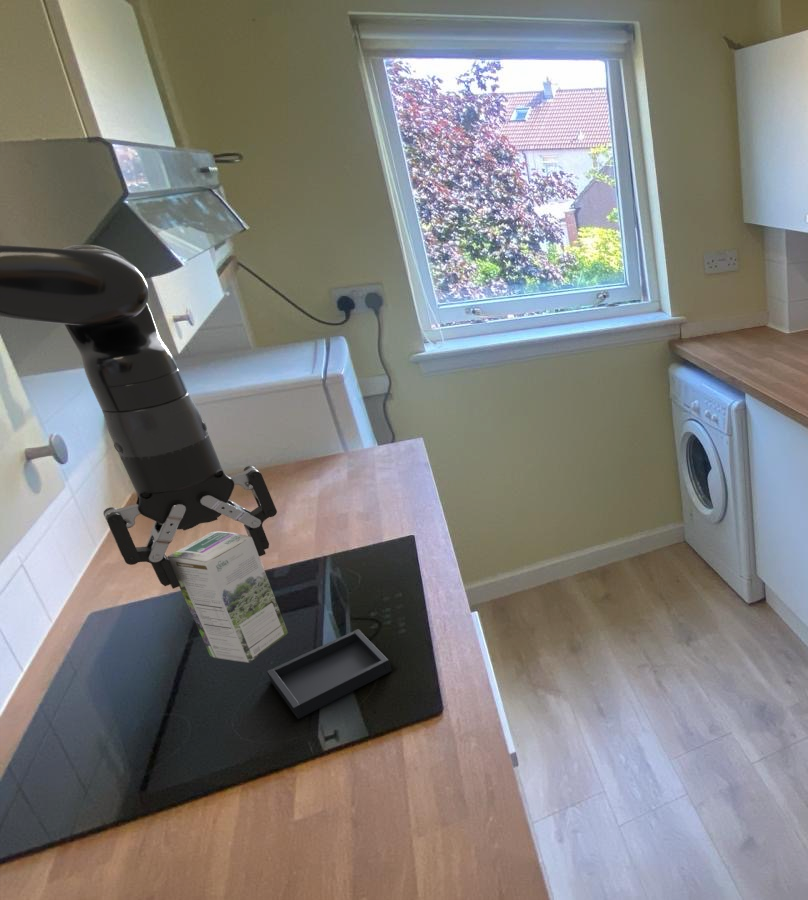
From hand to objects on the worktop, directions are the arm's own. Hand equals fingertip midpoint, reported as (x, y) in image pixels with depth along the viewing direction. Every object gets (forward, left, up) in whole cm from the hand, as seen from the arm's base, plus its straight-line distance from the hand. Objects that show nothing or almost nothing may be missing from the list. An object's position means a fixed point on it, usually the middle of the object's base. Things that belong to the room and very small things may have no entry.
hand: (218, 568), depth 84 cm
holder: (+8, +12, -28) cm, 32 cm away
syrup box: (0, 0, -11) cm, 11 cm away
